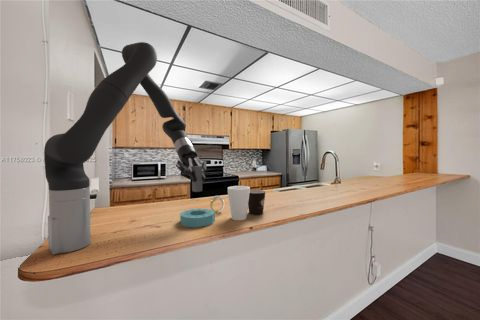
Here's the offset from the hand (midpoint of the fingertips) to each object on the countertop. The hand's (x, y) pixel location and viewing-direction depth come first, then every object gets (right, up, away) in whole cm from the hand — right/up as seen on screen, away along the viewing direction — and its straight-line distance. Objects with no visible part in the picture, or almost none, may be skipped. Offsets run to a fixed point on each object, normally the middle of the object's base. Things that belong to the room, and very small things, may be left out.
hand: (199, 180), depth 81 cm
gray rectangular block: (-1, -4, +2) cm, 5 cm away
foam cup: (+15, -17, +6) cm, 24 cm away
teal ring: (-1, -17, +2) cm, 17 cm away
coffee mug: (+25, -17, +14) cm, 33 cm away
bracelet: (+5, -17, +14) cm, 23 cm away
